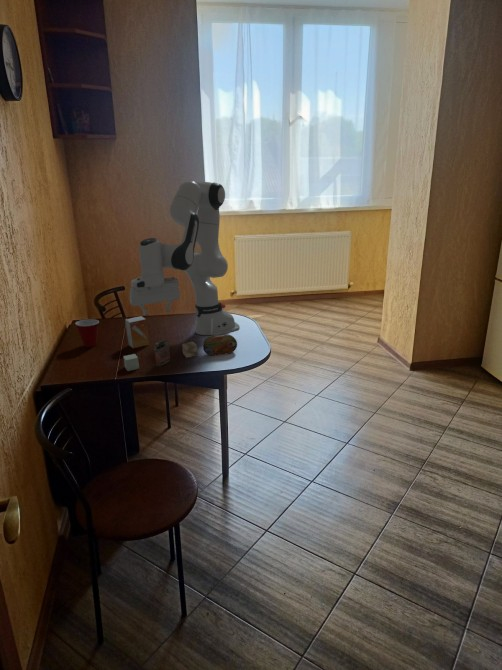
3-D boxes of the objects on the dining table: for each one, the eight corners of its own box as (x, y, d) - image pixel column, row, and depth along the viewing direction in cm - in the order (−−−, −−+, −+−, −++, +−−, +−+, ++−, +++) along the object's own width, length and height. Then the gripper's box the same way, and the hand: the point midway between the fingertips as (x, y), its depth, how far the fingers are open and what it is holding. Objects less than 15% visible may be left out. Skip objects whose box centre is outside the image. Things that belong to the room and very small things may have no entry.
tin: (204, 356, 204) (202, 338, 202) (203, 354, 207) (201, 336, 204) (237, 352, 207) (236, 335, 204) (236, 350, 210) (235, 332, 207)
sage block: (136, 364, 200) (135, 353, 198) (139, 368, 196) (137, 357, 194) (124, 367, 198) (123, 356, 196) (127, 371, 194) (125, 360, 192)
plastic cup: (107, 344, 225) (103, 320, 221) (86, 351, 218) (82, 326, 213) (95, 339, 232) (91, 316, 228) (75, 345, 225) (70, 322, 220)
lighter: (159, 366, 196) (157, 344, 193) (153, 365, 198) (151, 343, 195) (172, 359, 203) (170, 338, 199) (166, 358, 204) (164, 337, 201)
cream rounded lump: (193, 351, 211) (192, 341, 209) (197, 355, 206) (196, 345, 205) (183, 354, 209) (182, 343, 207) (186, 358, 204) (185, 347, 203)
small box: (133, 349, 217) (129, 322, 213) (128, 345, 222) (124, 319, 218) (149, 344, 221) (146, 318, 217) (144, 341, 226) (141, 315, 222)
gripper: (175, 275, 195) (178, 307, 199) (126, 281, 187) (130, 314, 191) (180, 277, 189) (183, 310, 194) (129, 284, 181) (134, 318, 186)
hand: (156, 312), depth 193 cm, fingers open, 8 cm apart
